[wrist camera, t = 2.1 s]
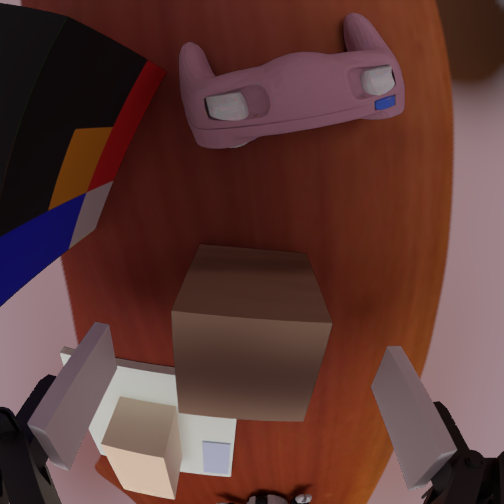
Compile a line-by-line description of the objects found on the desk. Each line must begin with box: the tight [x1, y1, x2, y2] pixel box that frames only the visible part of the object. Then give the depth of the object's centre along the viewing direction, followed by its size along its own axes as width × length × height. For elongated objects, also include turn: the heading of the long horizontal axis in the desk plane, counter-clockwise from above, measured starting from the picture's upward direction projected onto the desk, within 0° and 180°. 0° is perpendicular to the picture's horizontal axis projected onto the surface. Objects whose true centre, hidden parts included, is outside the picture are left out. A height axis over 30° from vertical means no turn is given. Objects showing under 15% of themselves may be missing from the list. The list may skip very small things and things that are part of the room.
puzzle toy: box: [0, 3, 167, 307], centre depth 10 cm, size 10×10×10 cm
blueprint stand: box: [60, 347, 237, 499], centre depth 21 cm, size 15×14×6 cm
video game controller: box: [179, 13, 405, 149], centre depth 12 cm, size 10×5×7 cm, turn 104°
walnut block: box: [171, 244, 333, 421], centre depth 16 cm, size 6×6×7 cm
